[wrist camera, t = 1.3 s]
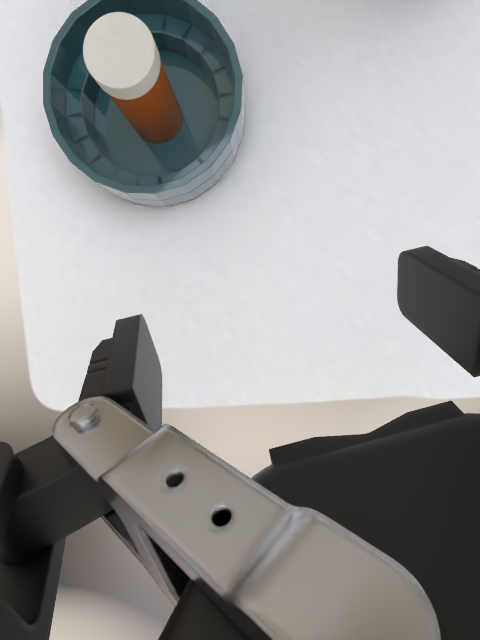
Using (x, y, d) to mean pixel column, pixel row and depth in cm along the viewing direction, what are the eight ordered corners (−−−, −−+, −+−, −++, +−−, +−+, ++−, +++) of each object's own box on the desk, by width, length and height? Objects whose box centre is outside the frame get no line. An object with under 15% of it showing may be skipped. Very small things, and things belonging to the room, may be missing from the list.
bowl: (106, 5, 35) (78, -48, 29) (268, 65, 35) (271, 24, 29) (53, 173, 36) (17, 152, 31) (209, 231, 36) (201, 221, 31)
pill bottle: (141, 82, 35) (95, 0, 25) (190, 101, 34) (164, 26, 25) (124, 134, 35) (72, 73, 25) (173, 152, 35) (140, 99, 25)
